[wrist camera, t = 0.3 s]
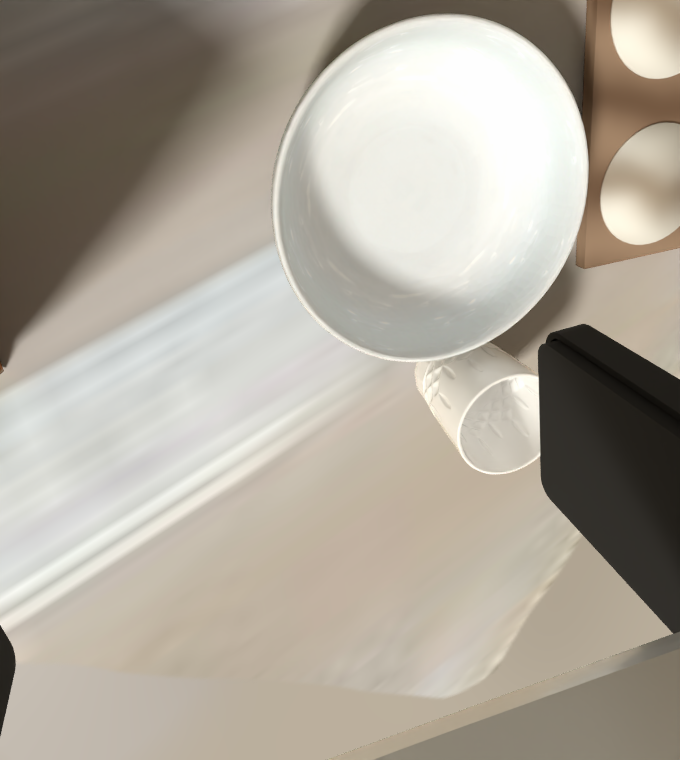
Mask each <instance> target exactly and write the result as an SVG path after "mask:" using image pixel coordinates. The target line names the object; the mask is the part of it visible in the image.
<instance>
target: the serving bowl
mask: <svg viewBox="0 0 680 760" xmlns="http://www.w3.org/2000/svg"><path fill="white" fill-rule="evenodd" d="M588 175H589V161H588V149H587V140H586V135H585V130H584V125H583V122H582V118H581V115H580V112H579V109H578V106H577V104H576V101H575V99H574V96H573V94H572V92H571V90H570V88H569V87H568V85H567V83H566V81H565V79H564V78H563V76H562V75H561V73H560V72H559V70H558V69H557V68H556V66H555V65H554V64H553V63H552V62H551V60H550V59H549V58H548V57H547V56H546V55H545V54H544V53H543V52H542V51H541V50H540V49H539V48H538V47H536V46H535V45H534V44H533V43H532V42H530V41H529V40H528V39H526V38H525V37H523V36H522V35H520V34H519V33H517V32H515V31H514V30H512V29H510V28H508V27H506V26H504V25H502V24H499V23H497V22H494V21H491V20H488V19H485V18H481V17H477V16H472V15H465V14H450V13H449V14H430V15H422V16H417V17H412V18H408V19H404V20H401V21H398V22H396V23H393V24H390V25H387V26H385V27H383V28H380V29H378V30H376V31H374V32H372V33H370V34H368V35H367V36H365V37H363V38H362V39H360V40H359V41H357V42H355V43H354V44H353V45H351V46H350V47H349V48H347V49H346V50H345V51H343V52H342V53H341V54H340V55H339V56H338V57H337V58H335V59H334V60H333V61H332V62H331V63H330V64H329V65H328V66H327V67H326V68H325V69H324V70H323V71H322V72H321V73H320V74H319V76H318V77H317V78H316V79H315V80H314V81H313V83H312V84H311V85H310V87H309V88H308V89H307V91H306V92H305V93H304V95H303V96H302V98H301V100H300V101H299V103H298V104H297V106H296V108H295V110H294V112H293V114H292V116H291V118H290V120H289V122H288V124H287V126H286V129H285V131H284V134H283V136H282V139H281V143H280V146H279V149H278V153H277V156H276V161H275V165H274V171H273V178H272V189H271V214H272V224H273V232H274V238H275V243H276V247H277V252H278V255H279V258H280V261H281V264H282V267H283V270H284V272H285V275H286V277H287V279H288V282H289V284H290V286H291V287H292V289H293V291H294V293H295V294H296V296H297V298H298V299H299V301H300V302H301V304H302V305H303V306H304V308H305V309H306V310H307V311H308V313H309V314H310V315H311V316H312V317H313V318H314V319H315V321H316V322H317V323H318V324H320V325H321V326H322V327H323V328H324V329H325V330H326V331H328V332H329V333H330V334H331V335H333V336H334V337H335V338H337V339H338V340H340V341H341V342H343V343H345V344H346V345H348V346H350V347H352V348H354V349H356V350H358V351H360V352H363V353H365V354H368V355H371V356H375V357H378V358H382V359H386V360H392V361H400V362H426V361H435V360H440V359H445V358H449V357H453V356H456V355H459V354H462V353H465V352H468V351H470V350H473V349H475V348H477V347H479V346H481V345H483V344H485V343H487V342H489V341H491V340H492V339H494V338H496V337H497V336H499V335H501V334H502V333H504V332H505V331H506V330H508V329H509V328H510V327H512V326H513V325H514V324H516V323H517V322H518V321H519V320H520V319H521V318H523V317H524V316H525V315H526V314H527V313H528V312H529V311H530V310H531V309H532V308H533V307H534V306H535V305H536V304H537V302H538V301H539V300H540V299H541V298H542V297H543V295H544V294H545V293H546V292H547V290H548V289H549V288H550V286H551V285H552V283H553V282H554V281H555V279H556V277H557V276H558V274H559V273H560V271H561V269H562V267H563V266H564V264H565V262H566V260H567V258H568V256H569V254H570V251H571V249H572V247H573V245H574V242H575V239H576V237H577V234H578V231H579V228H580V225H581V221H582V217H583V213H584V209H585V204H586V197H587V189H588Z"/></svg>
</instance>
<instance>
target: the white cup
mask: <svg viewBox="0 0 680 760" xmlns="http://www.w3.org/2000/svg"><path fill="white" fill-rule="evenodd" d="M414 373H415V379H416V385H417V389H418V390H419V392H420V393H421V394H422V396H423V397H424V399H425V400H426V402H427V403H428V406H429V408H430V410H431V411H432V413H433V415H434V416H435V418H436V419H437V421H438V422H439V424H440V426H441V427H442V429H443V430H444V431H445V433H446V434H447V436H448V437H449V438H450V440H451V441H452V443H453V444H454V446H455V447H456V448H457V450H458V451H459V453H460V454H461V456H462V457H463V459H464V460H465V461H466V462H467V463H468V464H469V465H470V466H471V467H473V468H474V469H476V470H478V471H480V472H483V473H488V474H505V473H510V472H513V471H516V470H519V469H521V468H523V467H525V466H527V465H529V464H530V463H532V462H533V461H534V460H536V459H537V458H538V457H539V456H540V419H539V375H538V374H537V373H536V372H534V371H533V370H531V369H530V368H529V367H527V366H526V365H524V364H523V363H522V362H520V361H519V360H517V359H516V358H514V357H513V356H511V355H509V354H508V353H506V352H505V351H503V350H502V349H500V348H499V347H497V346H496V345H494V344H492V343H490V342H487V343H485V344H483V345H481V346H479V347H477V348H475V349H473V350H470V351H468V352H465V353H462V354H459V355H456V356H453V357H449V358H445V359H440V360H435V361H426V362H417V365H416V368H415V371H414Z"/></svg>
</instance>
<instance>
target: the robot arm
mask: <svg viewBox="0 0 680 760" xmlns="http://www.w3.org/2000/svg"><path fill="white" fill-rule="evenodd" d="M538 375H539V419H540V462H541V481H542V485H543V488H544V490H545V492H546V494H547V496H548V497H549V498H550V500H551V501H552V502H553V503H554V504H555V505H556V506H557V507H558V508H559V509H560V511H561V512H562V513H563V514H564V515H565V516H566V517H567V518H568V519H569V520H570V521H571V523H572V524H573V525H574V526H575V527H576V528H577V529H578V530H579V531H580V532H581V533H582V535H583V536H584V537H585V538H586V539H587V540H588V541H589V542H590V543H591V544H592V545H593V547H594V548H595V549H596V550H597V551H598V552H599V553H600V554H601V555H602V556H603V557H604V559H606V561H607V562H608V563H609V564H610V565H611V566H612V567H613V568H614V569H615V570H616V572H617V573H618V574H619V575H620V576H621V577H622V578H623V579H624V580H625V581H626V582H627V584H628V585H629V586H630V587H631V588H632V589H633V590H634V591H635V592H636V593H637V594H638V596H639V597H640V598H641V599H642V600H643V601H644V602H645V603H646V604H647V605H648V606H649V608H650V609H651V610H652V611H653V612H654V613H655V614H656V615H657V616H658V617H659V618H660V620H662V622H663V623H664V624H665V625H666V626H667V627H668V628H669V629H670V630H671V632H672V633H673V634H672V635H669V636H666V637H663V638H661V639H658V640H655V641H652V642H650V643H647V644H644V645H641V646H639V647H636V648H633V649H630V650H627V651H624V652H622V653H619V654H616V655H614V656H611V657H608V658H605V659H602V660H600V661H597V662H594V663H591V664H588V665H586V666H583V667H580V668H577V669H574V670H572V671H569V672H566V673H563V674H561V675H558V676H555V677H552V678H550V679H547V680H544V681H541V682H539V683H536V684H533V685H530V686H527V687H525V688H522V689H519V690H516V691H513V692H511V693H508V694H505V695H502V696H500V697H497V698H494V699H491V700H488V701H486V702H483V703H480V704H477V705H475V706H472V707H469V708H466V709H464V710H461V711H458V712H456V713H453V714H450V715H447V716H445V717H442V718H439V719H436V720H434V721H431V722H428V723H426V724H423V725H420V726H417V727H415V728H412V729H409V730H406V731H404V732H401V733H398V734H396V735H393V736H390V737H387V738H384V739H382V740H379V741H377V742H374V743H371V744H368V745H366V746H363V747H360V748H357V749H354V750H352V751H349V752H346V753H344V754H341V755H338V756H336V757H333V758H330V759H327V760H680V379H678V378H676V377H675V376H673V375H671V374H670V373H668V372H666V371H665V370H663V369H661V368H660V367H658V366H656V365H654V364H653V363H651V362H649V361H648V360H646V359H644V358H643V357H641V356H639V355H638V354H636V353H634V352H633V351H631V350H629V349H628V348H626V347H624V346H623V345H621V344H619V343H618V342H616V341H614V340H613V339H611V338H609V337H608V336H606V335H604V334H603V333H601V332H599V331H597V330H596V329H594V328H592V327H591V326H589V325H586V324H581V325H577V326H574V327H570V328H566V329H563V330H559V331H556V332H552V333H550V334H549V335H548V337H547V339H546V343H545V344H542V345H541V346H540V347H539V350H538ZM15 666H16V663H15V653H14V650H13V647H12V645H11V642H10V641H9V639H8V637H7V636H6V634H5V632H4V631H3V629H2V627H1V626H0V735H1V731H2V726H3V721H4V717H5V713H6V708H7V704H8V700H9V695H10V690H11V686H12V682H13V677H14V673H15Z"/></svg>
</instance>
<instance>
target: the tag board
mask: <svg viewBox="0 0 680 760" xmlns="http://www.w3.org/2000/svg"><path fill="white" fill-rule="evenodd" d="M582 122H583V125H584V130H585V135H586V140H587V149H588V161H589V175H588V189H587V197H586V204H585V209H584V213H583V217H582V221H581V225H580V228H579V231H578V234H577V250H576V265H577V266H579V267H581V268H583V269H587V268H592V267H596V266H601V265H605V264H610V263H614V262H619V261H623V260H628V259H632V258H637V257H641V256H646V255H650V254H655V253H659V252H663V251H668V250H672V249H677V248H680V0H587V12H586V36H585V59H584V83H583V107H582Z"/></svg>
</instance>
